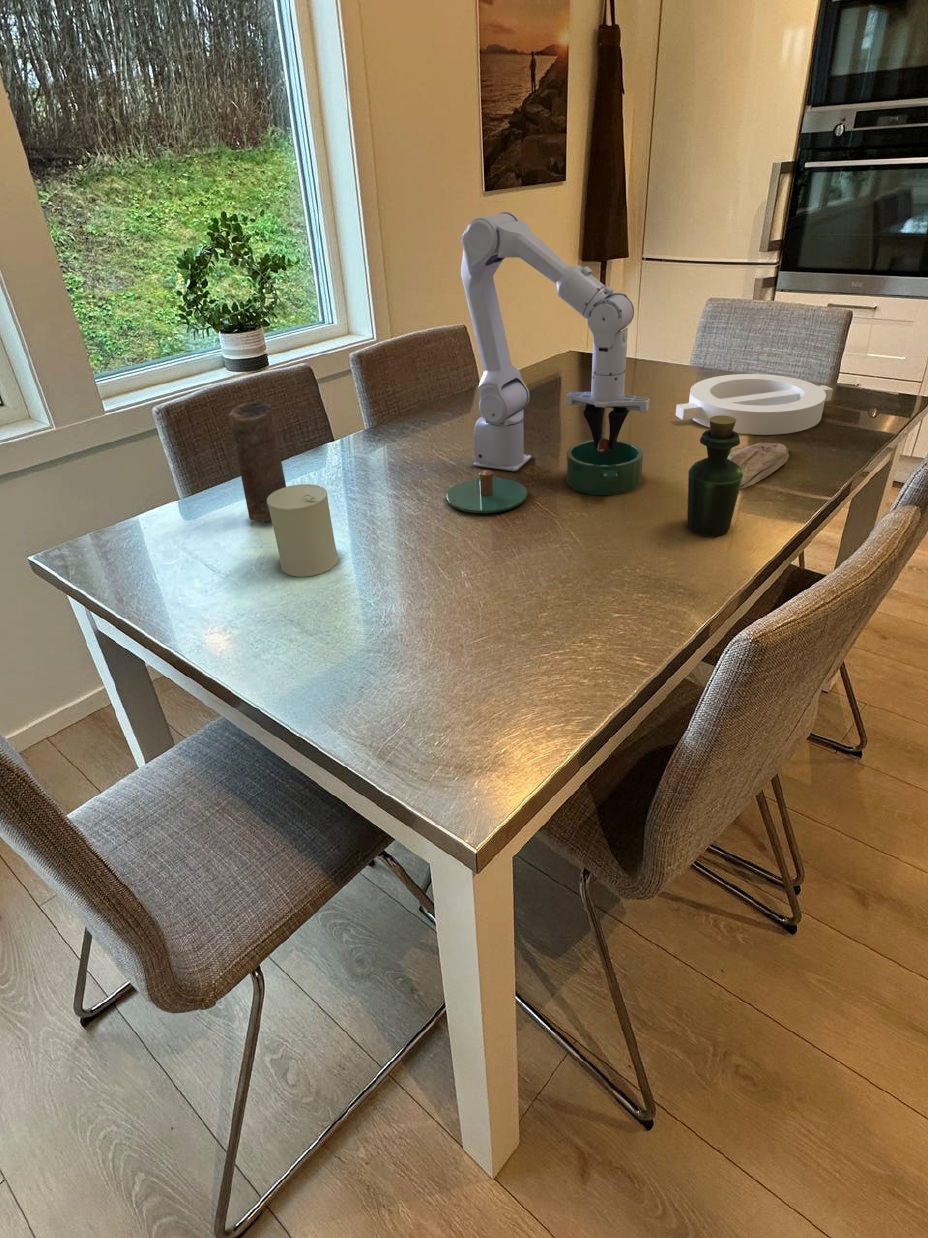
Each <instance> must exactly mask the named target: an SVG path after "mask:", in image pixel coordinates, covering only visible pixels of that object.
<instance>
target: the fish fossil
mask: <svg viewBox="0 0 928 1238" xmlns="http://www.w3.org/2000/svg"><path fill="white" fill-rule="evenodd" d="M789 458H790V454H789V449H788V447H787V446H786V445H784V444H783V443H773V442H772V443H771V442H758V443H755V444H751V445H747V446H744V447H741V448H736V449H735V450H733V451H732V452H730V453H729V456H728V458H727V459H729V460H731V461H732V462H734V463H736V464H737V465H738V466H740V469H741V471H742V474H743V478H742V481H741V485H740V489H739V490H741V489H746V488H748V487H750V486H753V485H755V484H757V483H758V482H760V481H762V480H765V479H766V478H767V477H768V476H770V475H772V474H773V473H774V472H775V471H777V470H778V469H780V468H781V467H782V466H784V465H785V464H786V463H787V462H788V459H789Z"/></svg>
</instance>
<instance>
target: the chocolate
mask: <svg viewBox="0 0 928 1238" xmlns="http://www.w3.org/2000/svg"><path fill="white" fill-rule="evenodd" d="M606 432H607V431H606V430H605V431H604V432H603V433H602V435H601V436H602V439H601V440H600V442H599V444H598V453H599V454H605V453H608V452H609V451H610V449H609V446H608V444H609V439H608V438H605V435H606Z"/></svg>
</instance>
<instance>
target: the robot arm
mask: <svg viewBox="0 0 928 1238" xmlns="http://www.w3.org/2000/svg"><path fill="white" fill-rule="evenodd" d="M460 241H461V245H462V249H463V251H462V257H461V267H460V277H461V280H462V284H463V289H464V293H465V298H466V301H467V306H468V310H469V315H470V319H471V323H472V328H473V332H474V336H475V340H476V345H477V349H478V353H479V358H480V362H481V366H482V371H483V374H482V376H481V378H480V381H479V384H478V392H479V393H478V394H479V400H478V410H479V413H480V415H481V416H480V417H479V418H478V419H477V420H476V422H475V424H474V429H473V446H474V449H473V450H474V462H473V466H474V467H480V468H488V469H495V470H502V471H508V472H517V471H518V470H520V469H521V468H522V467H523V466H524V465H525V464H526V463H528V462H529V461H530V460H531V459H532V455H531V454H525V444H524V443H525V441H524V440H525V437H524V434H525V433H524V431H525V430H524V415H525V413H524V412H525V411H524V410H525V409H526V408H527V406H528V404H529V403H530V397H531V396H530V391H529V388H528V386H527V385H526V383H525V382H524V380H523V377H522V374H521V371H520V370H519V369H518V368H517V367H515V366H514V364H513V363H512V359H511V353H510V350H509V349H510V348H509V345H508V341H507V340H508V339H507V336H506V331H505V330H506V329H505V326H504V321H503V317H502V316H503V315H502V313H501V308H500V303H499V298H498V294H497V289H496V284H495V280H494V279H495V278H494V275H495V274H496V272H497V270H498V268H500V265H501V264H502V263H503V261H504V260H505V259H506V258H519V259H521V260H522V261H524V262H525V263H527V265H529V266H530V267H532V268H534V269H535V270H536V271H538V272H539V273H540V274H542V275H543V277H545V278H547V279H548V280H550V281H551V282H552V283H554V284H555V285H556V291H557V295H558V297H559V298H560V299H562V300H563V301H564V302H565V303H566V304H567V305H569V307H570V306H571V308H573V309H574V310H575V311H576V312H577V313H579V314H580V315H581V316H582V317H583V318H585V319H586V320H587V326H588V328H589V330H590V331H591V334H592V336H593V337H592V338H593V339H592V358H591V360H592V361H591V362H592V363H591V365H592V366H591V387H590V388H591V389H590V391H569V392H568V393H567V394H566V406H570V407H572V406H582V407H583V406H584V407H585V408H584V410H583V412H582V413H583V417H584V419H585V420H586V422H587V425H588V427H589V429H590V432H591V436H592V440H593V441H594V447H595V448H598V444H599V442H600V440H601V439H602V436H603V435H602V434H603V424H604V414H605V409H612V410H611V411H610V412H609V413H608V416H607V417H608V426H609V427H608V428H609V435H608V440H609V444H608V446H609V449H610V450H613V449H614V447H615V446H616V442H617V440H618V437H619V434H620V432H621V429H622V427H623V424H624V422H625V421H626V419H627V416H628V415H629V413H630V411H636V412H639V413H643V414H646V413H647V412H648V411H649V410H650V398H649V397H648V398H647V397H641V396H636V395H631V394H626V393H625V385H626V371H627V369H626V368H627V355H628V353H627V352H628V334H629V332H628V331H629V328H628V326H629V325H630V324H631V323H632V321H633V320H634V317H635V306H634V304H633V302H632V300H631V298H629V297H628V295H627V294H626V293H623V292H614V288H613V287H611V286H609V285H608V286H606V285H605V284H604V283H602V282H601V281H600V280H599V279H598V278H596V276H594V275H592V272H593V270H592V269H591V268H590V267H589V266H588V265H587V266H581V265H579V264H578V265H577V264H576V265H573V266H569V265H568V264H567V263H566V261H564V260H563V259H562V257H560V256H559V255H557V254H556V253H555V252H554V250H552V249H551V248H550V247H549V246H548V245H547V244H546V243H544V241H543V240H541V239H540V238H539V237H538V236H537V235H536V234H535V233H534V232H533V231H532V230H531V228H530V227H529V225H528V224H527V222H525V221H523V220H521V219H519V218H518V217H517V215H516V214H514V213H512V212H510V211H502V212H499V213H497V214H493V215H489V216H485V217H476V218H474V219H472V220H471V221H470V222H469V223H468V225H467V226H466V228H465V229H464V231H463V233H462V235H461V237H460ZM601 435H602V436H601Z"/></svg>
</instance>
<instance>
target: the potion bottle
mask: <svg viewBox="0 0 928 1238" xmlns="http://www.w3.org/2000/svg"><path fill="white" fill-rule="evenodd" d="M735 423H736V419H735V418H733V417H730V416H720V415H719V416H713V417H711V418H710V427H709V429H707V430H705V431H704V432H703V433H702V434H701V436H700V438H699V442H700V444H701V445H703V446H706V453H707V457H705V458H703V459H700V460H698V461H695V462H694V463H693V464H692V465H691V467H690V468H689V469H688V471H687V472H688V476H687V521H686V522H687V523H686V525H687V528H688V529H689V531H691V532H692V533H693V534H695V535H698V536H701V537H702V536H703V537H721V536H722V535H724V534H726V533H727V532H728V531H729V530H730V527H731V524H732V520H733V516H734V513H735V508H736V504H737V501H738V496H739V494H740V490H741V489H740V485H741V481H742V478H743V474H742V471H741V469H740V466H738V465H737V464H736V463H734V462H732V461H731V460H729V459H727V458H728V456H729V455H730V454H731V451H732V448H735V447H738V446H739V445H740V444H741V439H740V435H739V433H736V432H735V431H733V428H734V425H735Z"/></svg>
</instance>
